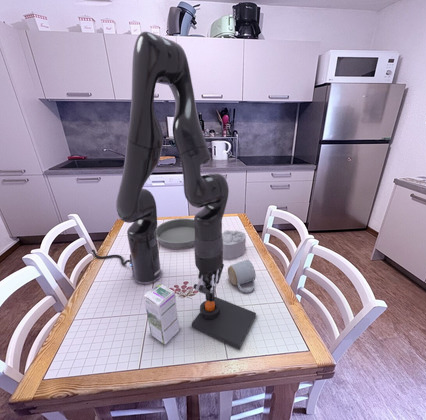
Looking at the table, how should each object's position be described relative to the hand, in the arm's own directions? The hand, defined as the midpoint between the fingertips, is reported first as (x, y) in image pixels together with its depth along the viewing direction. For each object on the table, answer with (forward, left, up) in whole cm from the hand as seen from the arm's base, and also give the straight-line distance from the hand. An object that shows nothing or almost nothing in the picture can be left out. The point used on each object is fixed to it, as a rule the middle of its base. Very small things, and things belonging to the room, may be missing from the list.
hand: (210, 299), depth 69 cm
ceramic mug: (+3, +18, -7) cm, 19 cm away
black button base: (+5, 0, -6) cm, 8 cm away
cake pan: (-37, +34, -7) cm, 51 cm away
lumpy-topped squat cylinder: (-10, +35, -7) cm, 37 cm away
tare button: (0, 0, -3) cm, 3 cm away
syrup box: (-8, -11, -7) cm, 15 cm away
